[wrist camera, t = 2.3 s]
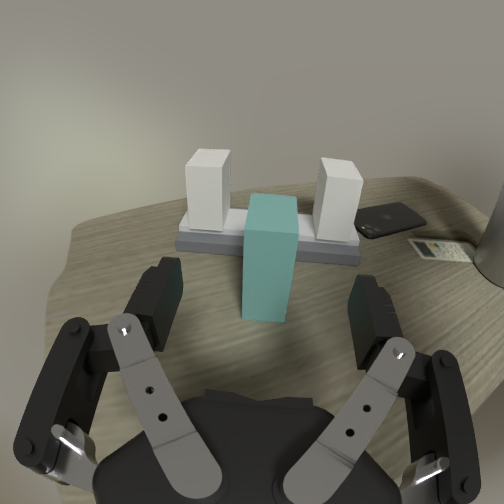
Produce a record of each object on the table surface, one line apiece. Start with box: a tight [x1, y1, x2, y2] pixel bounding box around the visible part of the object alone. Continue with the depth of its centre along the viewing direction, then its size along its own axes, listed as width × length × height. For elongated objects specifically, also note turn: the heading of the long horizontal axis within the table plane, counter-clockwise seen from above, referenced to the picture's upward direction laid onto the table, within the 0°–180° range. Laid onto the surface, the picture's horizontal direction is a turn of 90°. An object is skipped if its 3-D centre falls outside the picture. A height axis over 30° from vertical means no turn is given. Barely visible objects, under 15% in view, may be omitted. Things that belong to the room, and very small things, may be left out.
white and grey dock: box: [175, 149, 363, 266], centre depth 36 cm, size 22×9×10 cm, turn 85°
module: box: [242, 193, 299, 323], centre depth 27 cm, size 4×6×10 cm, turn 175°
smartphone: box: [354, 202, 427, 239], centre depth 45 cm, size 7×1×15 cm
